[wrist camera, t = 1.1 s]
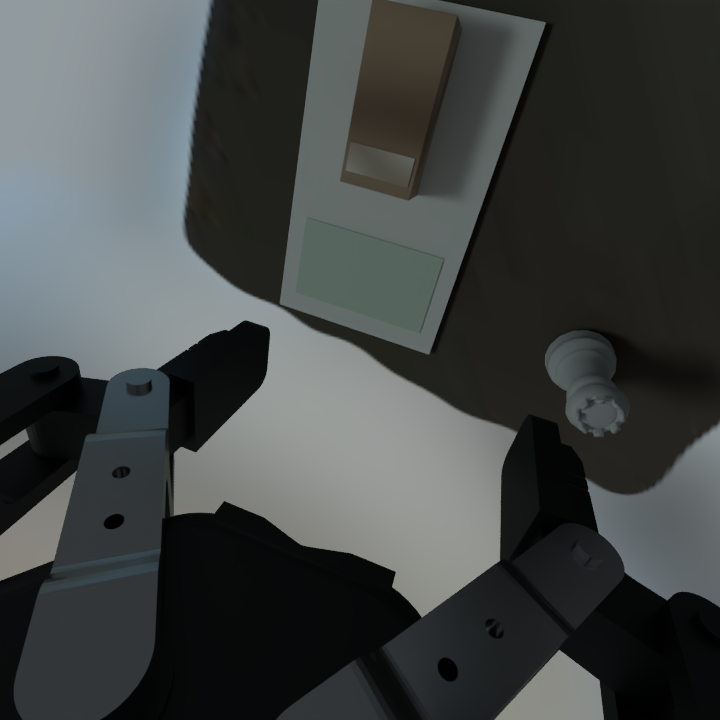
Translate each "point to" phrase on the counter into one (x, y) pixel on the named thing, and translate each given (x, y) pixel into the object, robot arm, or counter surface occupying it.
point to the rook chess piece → (588, 381)
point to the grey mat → (388, 213)
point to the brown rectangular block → (399, 96)
